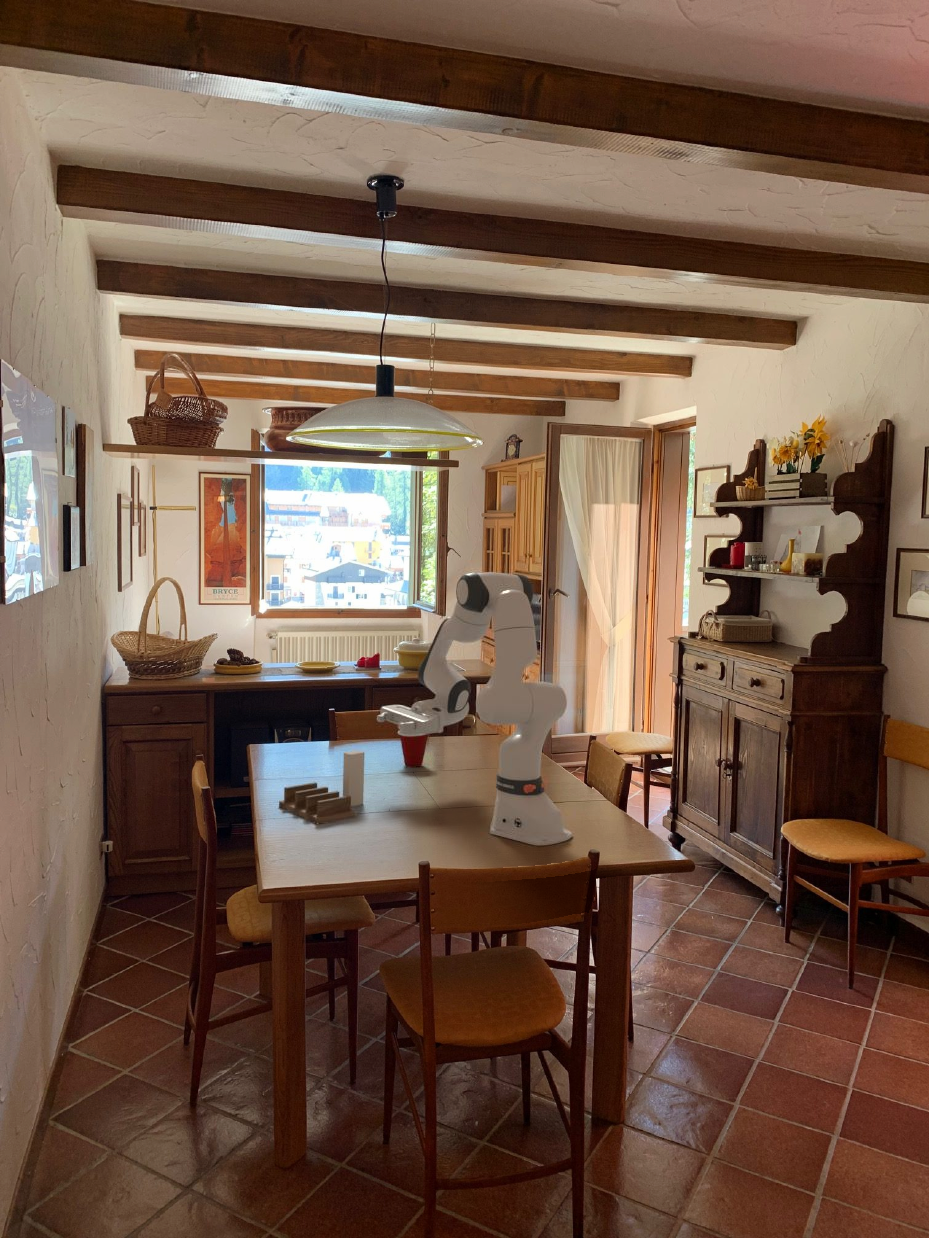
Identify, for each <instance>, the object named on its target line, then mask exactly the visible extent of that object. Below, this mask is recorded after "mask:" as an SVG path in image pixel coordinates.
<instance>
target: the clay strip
mask: <svg viewBox="0 0 929 1238" xmlns="http://www.w3.org/2000/svg"><path fill="white" fill-rule="evenodd" d="M342 767H343V769H342V771H343V775H342V797H343V796H348V795H349V796H351V806H352V807H357V806H362V805H364V790H365V786H364V784H365V751H361V750H358V749H357V750H353V751H345V752H343V766H342ZM361 804H362V805H361Z"/></svg>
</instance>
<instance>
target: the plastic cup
mask: <svg viewBox="0 0 929 1238" xmlns="http://www.w3.org/2000/svg"><path fill="white" fill-rule="evenodd" d="M397 734H398V736H399V739H400V743H401V751H402V755H403V762H404V765H406V766H405V767H408V766H413V767H412V768H416V767H415V766H420V767H421V765H423V762H424V757H425V752H426V748H427V747H426V746H427V741H428V739H429V738H428V737H429V734H423V733H420V732H417V731H414V730H407V729H405V730H400V729H399V730H398V731H397Z"/></svg>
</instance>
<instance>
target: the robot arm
mask: <svg viewBox="0 0 929 1238" xmlns="http://www.w3.org/2000/svg"><path fill="white" fill-rule="evenodd" d="M455 589H456V590H455V592H456V593H455V595H456V599H457V600H456V602H455V603H456V604H455V606H454V609H453V612H452V615H451V616H447V617H446V618H445V619H444V620H443V621H442V622H441V624H440V625H439V626H438V627H439V628H438V629H437V631H436V633H435V636H434V638H433V640H432V642H431V644H430V647H429V649H428V651H427V654H426V655H425V657H424V658H423V660H422V662H421V663H420V665H419V666H418V671H417V679H418V682H419V683H420V684H421V685H423V686H424V687H425V688H427V689H428V690H430V691H431V692H432V693H433V694H434V695H435V696H434V698H432V699H425V700H420V701H416V702H414V703H413V704H412V705H411V707H408V706H406V705H401V704H390V705H382V706H381V707H380V712H379V713H380V714H379V715H376V721H377V722H379V723H384V722H385V721H387V722H390V723H392V724H395V725H397V729H399V730H405V729H407V730H414V731H417V732H420V733H423V734H428V735H430V734H435V733H438V734H441V733H443V732H444V727H445V726H450V725H453V724H454V725H455V724H456V723H458V722H461V721H462V720H463V719H465V718H466V717H467V716H468V714H469V711H470V704H469V700H470V696H471V691H472V687H471V682H470V681H469V680H468V679H467V678H465V677H464V675H462V674H461V673H460V672H458V670H456V669H455V668H454V667H453V666H451V664H450V663H448V660H447V655H448V652H449V650H450V648H451V646H452V644H453V642H454V641H455V642H458V643H463V644H464V643H465V644H468V643H469V644H470V643H475V642H478V641H480V640H481V639H483V638H484V637H485V636H486V634H487V632H488V631H489V627H490V625H491V621H492V628H493V638H494V639H493V640H494V653H495V655H494V656H495V657H494V658H495V659H494V667H493V671H492V673H491V676H490V678H489V680H488V682H486V684H485V685H484V686H483V687H482V688H481V689H480V691H479V692H478V693H477V696H476V700H475V709H476V712H477V715H478V717H479V718H480V719H481V721H483V723H486V724H490V725H495V726H512V725H516V727H515V730H514V731H513V733H512V734H511V735H509V737H507V738H505V739H504V740H503V741H502V742H501V744H500V746H499V750H498V751H499V752H498V753H499V754H498V772H497V774H496V778H495V779H496V780H495V788H496V789H497V791H496V797H495V802H494V808H493V814H492V819H491V822H490V825H489V827H490V829H489V833H490V834H491V835H494V836H499V837H502V838H505V839H510V840H514V841H516V842H517V841H518V842H521V843H525V844H528V845H532V846H549V845H554V844H560V843H562V842H565V841H568V840H570V839H571V838H572V837H573V832H572V831H570V830H568V829H566V828H564V818H563V813H562V812H561V810H560V809H559V808H558V807H557V806H556V804H555V803H554V802H553V800H551V799H550V797H549V795H548V794H546V793H545V790H546V789H545V788H546V787H548V785H547V784H548V782H547V781H546V782H543V778H542V776H541V764H542V753H543V748H544V747H543V746H544V743H545V741H546V738H547V735H548V734H549V733H550V730H551V729H552V727H553V726H554V724H555V723H556V722H557V721H558V720H559V719H561V718H562V717H563V716H564V714H565V713H566V710H567V705H568V704H567V703H568V701H567V700H568V698H567V694H566V693H565V690H564V689H563V688H562V687H561V686H560V685H559V684H557V683H553V682H547V681H525V682H524V680H523V679H524V673H525V670H526V669H527V668H528V667H530V666H531V665H533V664H534V663H535V662H536V659H537V657H538V646H537V645H538V644H537V636H536V626H535V619H534V616H533V615H534V614H533V610H532V607H531V604H532V602H533V598H534V587H533V584H532V581H531V580H530V579H529V578H528V577H527V576H526V575H524V574H523V575H522V574H519V573H513V574H512V573H506V572H505V573H504V572H495V571H489V572H488V571H487V572H486V571H485V572H470V573H469V572H468V573H466V574H462V576H460V578H459V580H458V581H457V583H456V588H455Z"/></svg>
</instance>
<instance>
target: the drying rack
mask: <svg viewBox="0 0 929 1238" xmlns="http://www.w3.org/2000/svg"><path fill="white" fill-rule="evenodd" d="M283 787H284V786H283ZM283 791H284V795H283V796H284V797H283V800H279V801H278V807H279V808H281V809H284V810H286V811H287V812H290V813H292V814H294V815H296V816H299V817H301V818H303V817H304V818H303V819H305V818H306V819H305V820H307V819H308V821H310V822H312V823H314V822H315V823H314V824H316V823H322V824H325V822H327V823H331V822H335V820H336V821H340V820H341V821H342V820H345V819H344V818H346V819H349V818H350V817H351V818H355V816H357V810H354V809H352V807H351V796H349V795H348V796H343V795H342V796H340V791H338V790H336V791H335V790H334V791H330V792H329V787H328V786H320V787H318V782H315V781H314V782H309V783H302V784H298V785H292V786H291V785H290V786H285V787H284V790H283Z"/></svg>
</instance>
